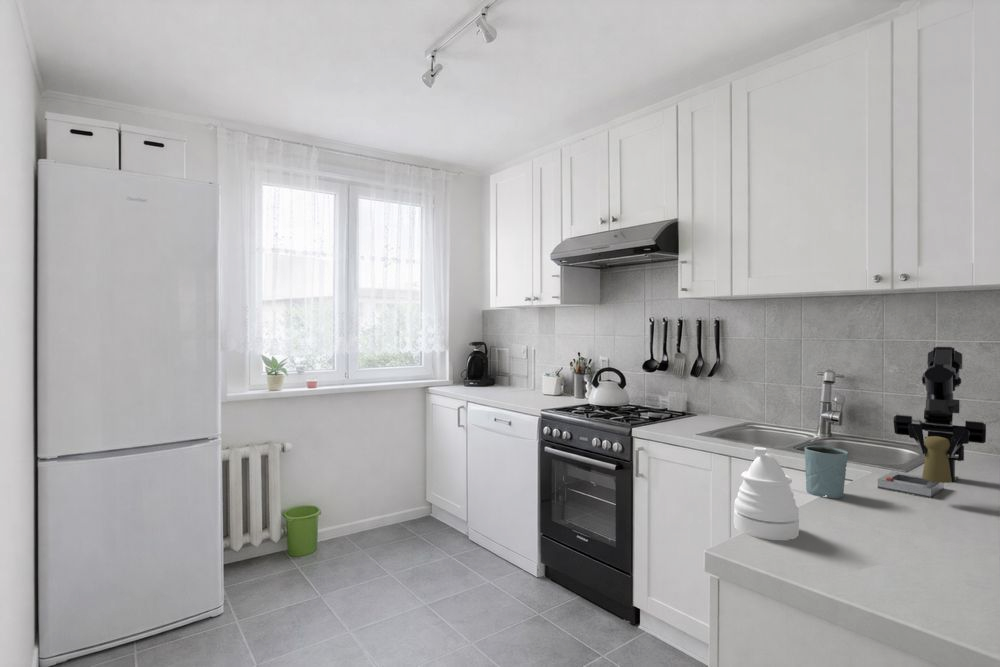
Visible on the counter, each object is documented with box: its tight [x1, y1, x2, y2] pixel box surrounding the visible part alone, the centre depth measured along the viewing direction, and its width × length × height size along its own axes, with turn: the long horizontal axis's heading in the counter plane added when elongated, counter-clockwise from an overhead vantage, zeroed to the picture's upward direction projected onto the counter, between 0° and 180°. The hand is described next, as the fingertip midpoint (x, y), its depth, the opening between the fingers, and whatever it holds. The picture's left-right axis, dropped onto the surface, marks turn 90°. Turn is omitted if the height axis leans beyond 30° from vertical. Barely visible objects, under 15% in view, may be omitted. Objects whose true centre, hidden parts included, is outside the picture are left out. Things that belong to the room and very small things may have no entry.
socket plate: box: [877, 470, 945, 499], centre depth 152 cm, size 14×12×3 cm
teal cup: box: [804, 445, 849, 499], centre depth 146 cm, size 10×10×12 cm
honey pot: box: [733, 446, 800, 541], centre depth 119 cm, size 13×13×18 cm
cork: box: [921, 436, 953, 484], centre depth 139 cm, size 6×6×11 cm
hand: (936, 454), depth 138 cm, fingers closed on cork, 5 cm apart
